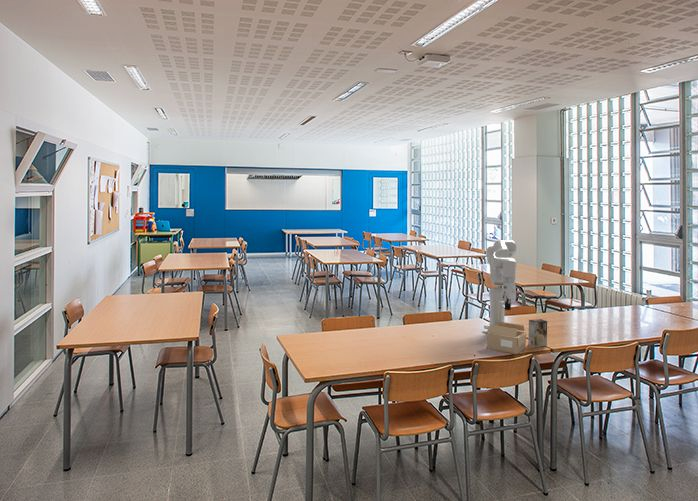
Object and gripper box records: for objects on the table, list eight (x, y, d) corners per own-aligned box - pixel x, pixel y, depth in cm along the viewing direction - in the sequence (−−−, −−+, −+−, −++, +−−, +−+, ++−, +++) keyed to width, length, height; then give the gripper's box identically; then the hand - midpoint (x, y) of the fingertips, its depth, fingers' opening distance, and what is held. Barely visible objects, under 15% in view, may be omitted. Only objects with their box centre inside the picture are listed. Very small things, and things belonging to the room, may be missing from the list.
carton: (486, 348, 304) (486, 332, 303) (496, 342, 317) (496, 327, 316) (517, 354, 293) (517, 337, 292) (526, 348, 305) (526, 332, 304)
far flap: (497, 321, 312) (497, 321, 312) (498, 327, 315) (498, 326, 315) (523, 325, 302) (523, 325, 302) (524, 331, 305) (524, 330, 305)
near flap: (517, 329, 294) (517, 328, 294) (515, 336, 292) (515, 336, 292) (490, 324, 304) (490, 324, 304) (488, 332, 302) (488, 332, 302)
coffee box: (540, 343, 315) (541, 318, 314) (546, 346, 309) (547, 321, 307) (527, 344, 313) (528, 319, 311) (534, 347, 307) (535, 322, 305)
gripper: (510, 281, 292) (509, 312, 294) (519, 279, 304) (518, 308, 306) (497, 280, 297) (496, 311, 298) (506, 277, 309) (506, 307, 310)
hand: (507, 309), depth 302 cm, fingers closed
